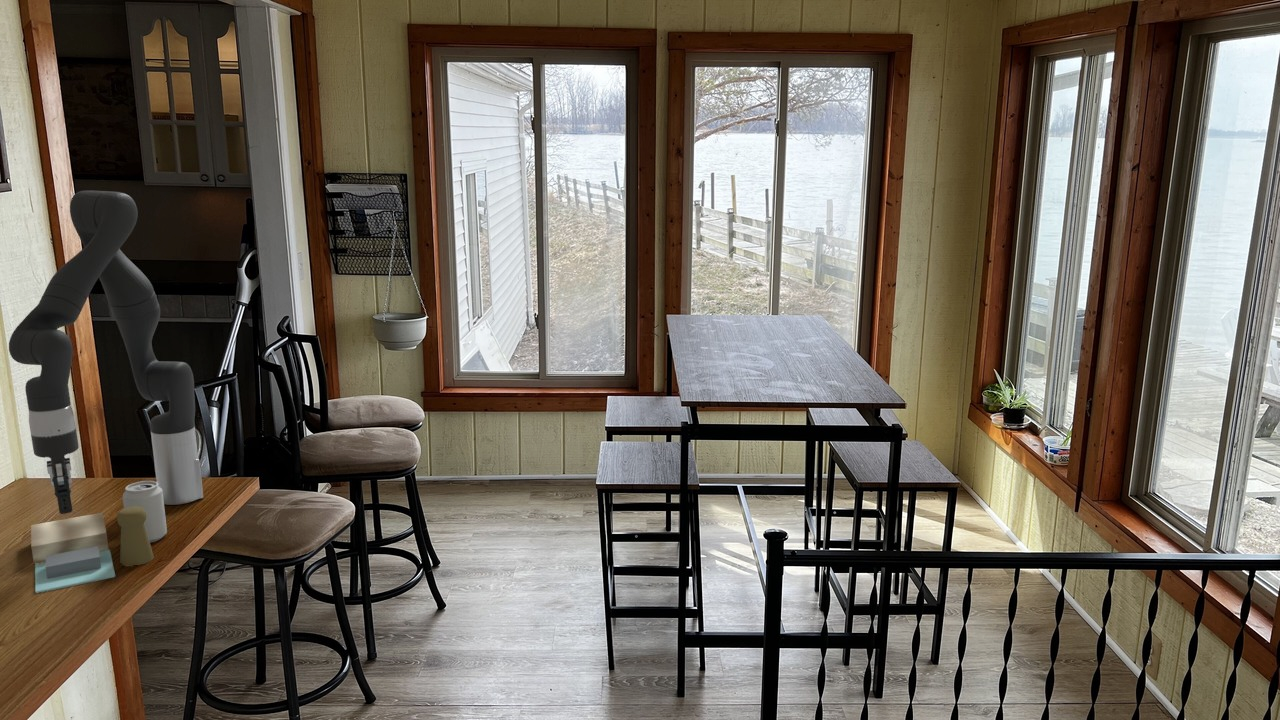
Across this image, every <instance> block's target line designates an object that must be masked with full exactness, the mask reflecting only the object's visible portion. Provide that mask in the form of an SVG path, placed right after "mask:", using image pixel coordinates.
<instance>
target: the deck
mask: <svg viewBox="0 0 1280 720" xmlns="http://www.w3.org/2000/svg"><path fill="white" fill-rule="evenodd" d="M30 532H31V533H30V539H31V540H30V541H31V542H30V543H31V544H30V545H31V554H32V561H33V565H34V564H35V563H41V562H46V557H45V556H48V555H54V554H59V553H64V552H70V551H75V550H80V549H85V548H91V547H96V546H98V548H99V552H101V551H106V550H110V549H109V543H108V533H107V528H106V523H105V519H104V515H103V512H99V513H98V512H97V513H92V514H87V515H81V516H76V517H69V518H64V519H58V520H52V521H45V522H42V523H41V522H40V523H36V524H31V525H30Z"/></svg>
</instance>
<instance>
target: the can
mask: <svg viewBox="0 0 1280 720" xmlns="http://www.w3.org/2000/svg"><path fill="white" fill-rule="evenodd" d="M124 490H125V491H124V492H123V494H122V504H123V509H124V508H128V507H134V506H138V507H142V508H143V509H144V510H145V511H146V515H147V517H146V520H145V522H144V524H145V527H146V531H147V534H148V538H149V542H150V544H151V543H155V542H157V541H159V540H161V539H163V538H164V537H165V535H167V533H168V529H167V527H168V526H167V521H166V520H167V518H166V511H165V504H164V500H163V491H162V489H161V488H160V487H159V486H158V483H157V481H156V480H155V481H154V480H141V481H137V482H133V483H130V484H128V485H127V486H125V488H124Z"/></svg>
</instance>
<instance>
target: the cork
mask: <svg viewBox="0 0 1280 720" xmlns="http://www.w3.org/2000/svg"><path fill="white" fill-rule="evenodd" d="M146 517H147V515H146V511H145V510H144V509H143V508H142V507H138V506H134V507H128V508H124V507H123V508H122V509H120V510H119V512H118V513H117V515H116V520H117V523H118V525H119V526H120V551H119V554H120V555H119V559H120V560H119V563H121V564H124V565H129V566H128V567H132V566H131V565H138V566H142V565H145V564H148V563H149V562H152V561H153V560H154V558H155V557H154V554H153V553H154V552H153V550H152V549H153V548H152V546H151V543H150V542H149V538H148V534H147V531H146V527H145V524H144V522H145V520H146ZM121 564H120V565H121Z"/></svg>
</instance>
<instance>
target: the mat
mask: <svg viewBox="0 0 1280 720" xmlns="http://www.w3.org/2000/svg"><path fill="white" fill-rule="evenodd" d="M99 555H100V563H101V568H99V569H94V570H89V571H84V572H79V573H74V574H69V575H64V576H59V577H54V578H49V579H47V574H46V562H44V563H39V564H35V565H34V576H35V577H34V580H35V583H34V584H35V586H34V588H35V590H34V591H35V594H40V593H39V592H41V593H45V591H46V592H50V591H54V590H59V589H60V590H61V589H64V588H69V587H74V586H79V585H84V584H88V583H93V582H94V583H95V582H97V581H102V580H108V579H112V578H115V577H116V573H115V568H114V565H113V564H114V563H113V558H112V553H111V549H109V550H106V551H101V552H99ZM49 590H50V591H49Z"/></svg>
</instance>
